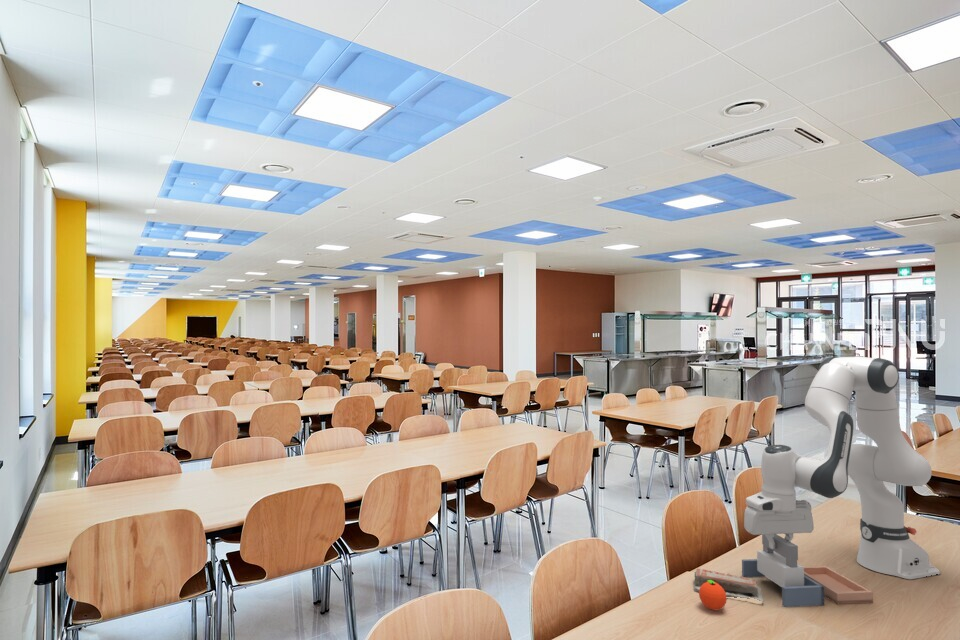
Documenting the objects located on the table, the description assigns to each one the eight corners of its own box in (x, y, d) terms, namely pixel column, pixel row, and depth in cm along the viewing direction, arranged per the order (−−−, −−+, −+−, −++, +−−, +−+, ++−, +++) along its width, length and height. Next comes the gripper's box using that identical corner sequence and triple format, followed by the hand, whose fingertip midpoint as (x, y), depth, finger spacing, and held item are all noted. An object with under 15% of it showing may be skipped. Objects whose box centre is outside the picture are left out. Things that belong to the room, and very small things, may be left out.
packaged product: (693, 576, 150) (694, 563, 159) (693, 593, 150) (694, 579, 159) (763, 589, 142) (760, 575, 152) (763, 607, 142) (760, 591, 151)
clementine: (693, 599, 145) (693, 574, 145) (718, 600, 145) (718, 574, 145) (705, 614, 137) (704, 587, 137) (731, 615, 137) (731, 588, 137)
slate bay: (777, 574, 162) (777, 558, 162) (824, 605, 143) (824, 586, 143) (742, 575, 161) (741, 559, 161) (784, 607, 142) (784, 588, 142)
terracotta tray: (825, 575, 162) (825, 565, 162) (873, 602, 145) (872, 592, 145) (793, 576, 160) (793, 567, 161) (837, 604, 144) (837, 593, 144)
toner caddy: (775, 569, 158) (774, 530, 159) (804, 588, 146) (803, 545, 147) (757, 570, 158) (756, 531, 158) (784, 589, 146) (784, 546, 146)
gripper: (802, 496, 157) (803, 542, 157) (740, 498, 155) (741, 544, 154) (818, 503, 151) (819, 550, 150) (754, 505, 149) (754, 553, 148)
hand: (779, 547), depth 152 cm, fingers closed on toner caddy, 2 cm apart
